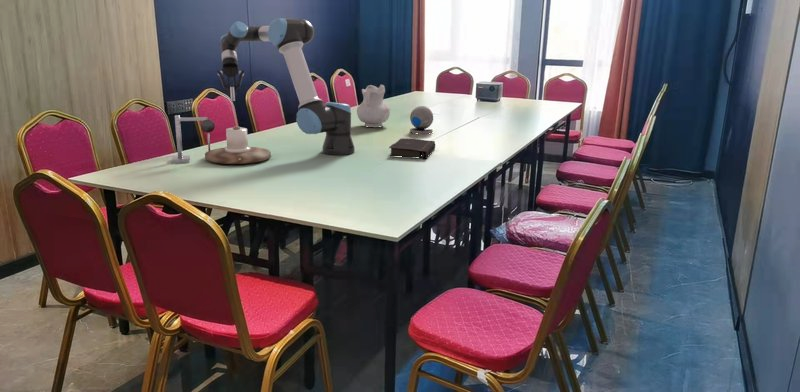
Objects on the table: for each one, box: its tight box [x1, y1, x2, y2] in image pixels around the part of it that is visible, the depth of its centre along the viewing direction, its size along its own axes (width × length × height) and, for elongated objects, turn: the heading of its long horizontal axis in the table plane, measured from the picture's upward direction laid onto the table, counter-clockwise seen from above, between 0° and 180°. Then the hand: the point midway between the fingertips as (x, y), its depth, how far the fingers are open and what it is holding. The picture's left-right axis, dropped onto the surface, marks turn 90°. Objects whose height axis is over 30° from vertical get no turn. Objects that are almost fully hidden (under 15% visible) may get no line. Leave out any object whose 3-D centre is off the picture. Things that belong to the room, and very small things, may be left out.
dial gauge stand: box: [171, 114, 216, 164], centre depth 255 cm, size 18×7×20 cm, turn 107°
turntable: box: [204, 146, 272, 165], centre depth 262 cm, size 28×28×2 cm
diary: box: [388, 137, 436, 159], centre depth 284 cm, size 19×25×5 cm
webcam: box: [409, 105, 434, 135], centre depth 335 cm, size 13×13×15 cm
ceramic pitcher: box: [356, 84, 391, 127], centre depth 348 cm, size 22×20×25 cm
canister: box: [224, 125, 251, 153], centre depth 265 cm, size 11×11×11 cm
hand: (232, 99), depth 286 cm, fingers closed
